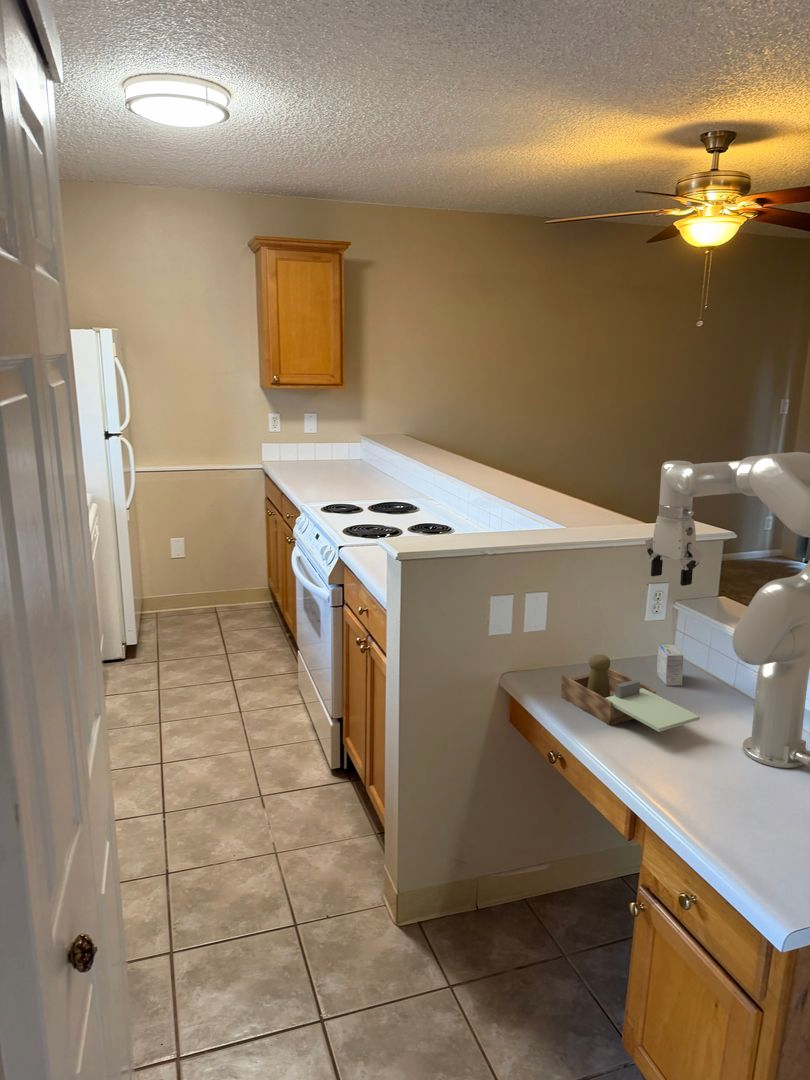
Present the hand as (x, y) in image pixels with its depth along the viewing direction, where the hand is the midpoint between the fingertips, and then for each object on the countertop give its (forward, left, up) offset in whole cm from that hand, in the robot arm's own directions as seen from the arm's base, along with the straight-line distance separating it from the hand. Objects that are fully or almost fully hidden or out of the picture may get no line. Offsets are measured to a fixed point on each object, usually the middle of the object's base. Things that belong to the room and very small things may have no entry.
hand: (670, 580), depth 186 cm
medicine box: (+6, -8, -31) cm, 32 cm away
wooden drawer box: (+2, +17, -30) cm, 35 cm away
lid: (-13, +17, -26) cm, 33 cm away
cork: (+5, +17, -30) cm, 35 cm away
